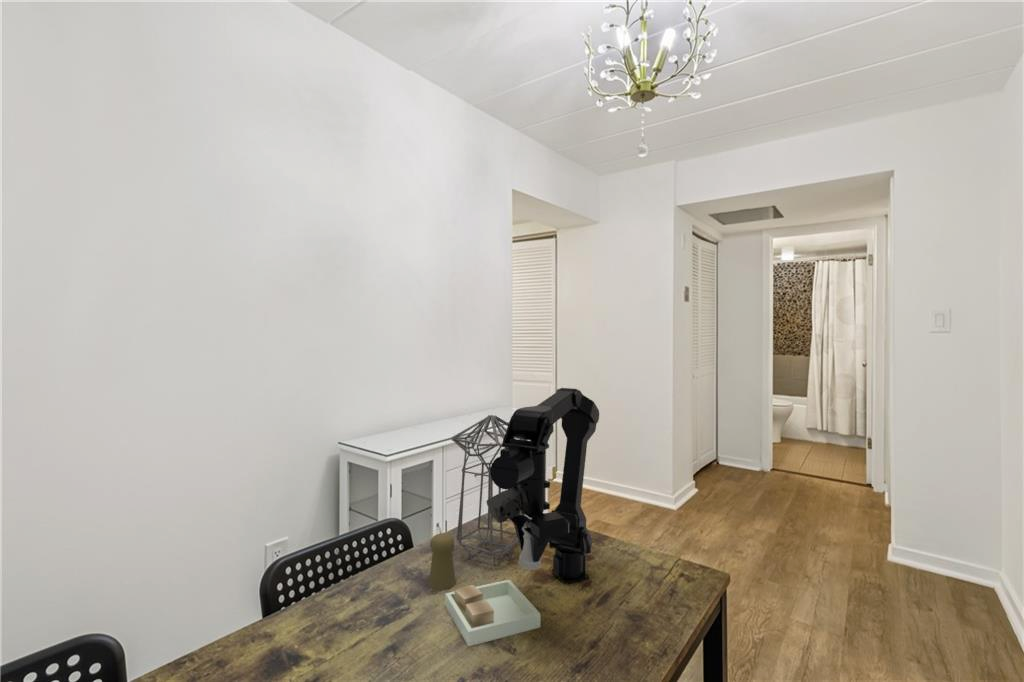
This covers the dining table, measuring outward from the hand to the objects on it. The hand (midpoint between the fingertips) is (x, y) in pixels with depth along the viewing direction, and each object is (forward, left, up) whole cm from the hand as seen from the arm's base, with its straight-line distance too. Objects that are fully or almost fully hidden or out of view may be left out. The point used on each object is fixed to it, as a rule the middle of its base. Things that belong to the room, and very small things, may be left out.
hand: (529, 556), depth 95 cm
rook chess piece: (0, 0, -2) cm, 2 cm away
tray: (+7, -3, -12) cm, 14 cm away
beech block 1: (+10, -6, -12) cm, 17 cm away
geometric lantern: (-3, -28, -12) cm, 31 cm away
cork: (+12, -19, -12) cm, 25 cm away
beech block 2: (+10, 0, -12) cm, 15 cm away
